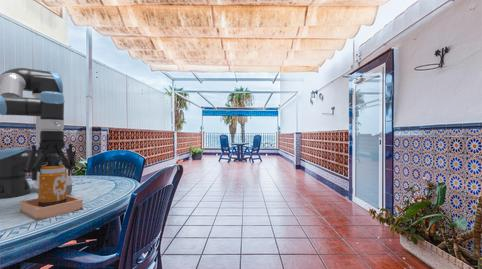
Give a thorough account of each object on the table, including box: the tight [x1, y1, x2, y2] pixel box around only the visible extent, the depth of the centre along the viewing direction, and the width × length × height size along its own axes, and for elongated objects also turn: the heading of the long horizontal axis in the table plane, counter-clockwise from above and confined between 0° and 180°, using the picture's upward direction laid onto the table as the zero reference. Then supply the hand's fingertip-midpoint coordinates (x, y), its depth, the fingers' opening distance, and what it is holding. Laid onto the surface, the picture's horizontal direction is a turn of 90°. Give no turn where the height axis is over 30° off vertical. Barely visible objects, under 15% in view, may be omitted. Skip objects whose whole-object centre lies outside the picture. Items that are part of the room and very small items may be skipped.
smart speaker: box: [67, 171, 73, 196], centre depth 116 cm, size 10×9×14 cm
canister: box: [37, 155, 67, 207], centre depth 96 cm, size 9×11×20 cm
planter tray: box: [19, 194, 84, 221], centre depth 96 cm, size 17×15×4 cm
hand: (51, 186), depth 96 cm, fingers closed on canister, 9 cm apart
